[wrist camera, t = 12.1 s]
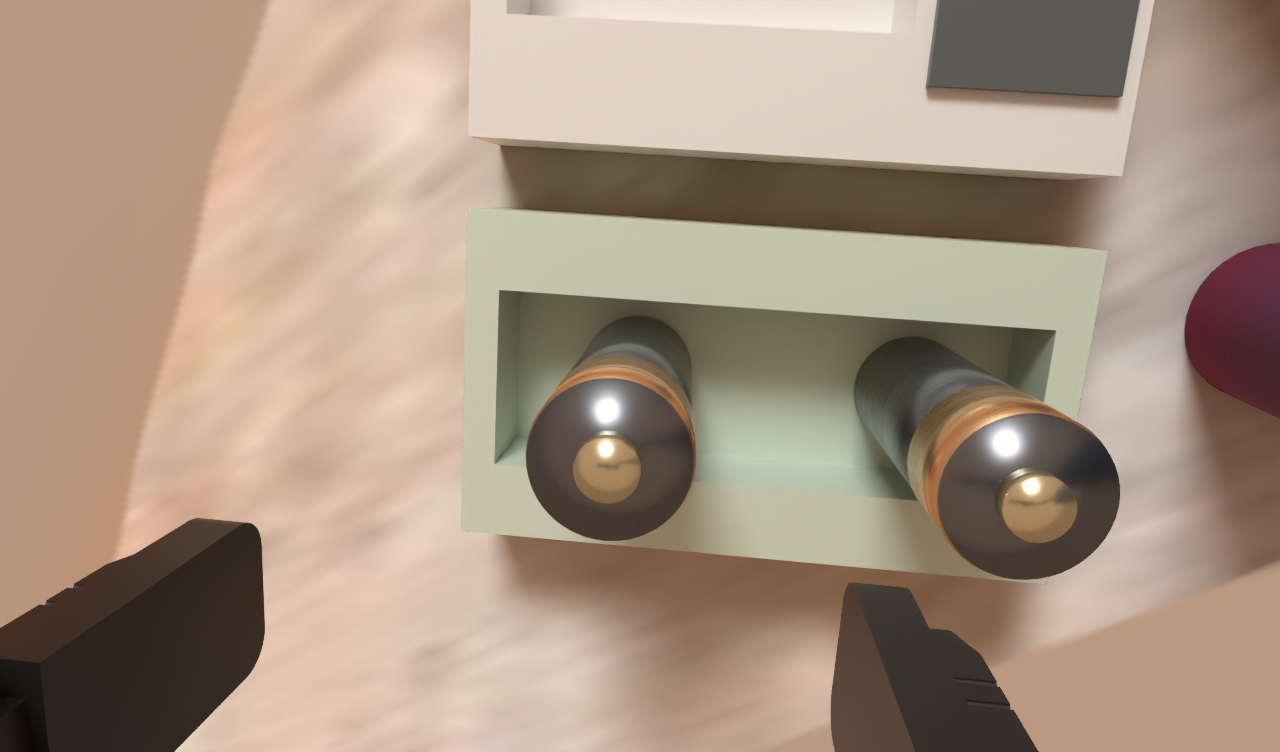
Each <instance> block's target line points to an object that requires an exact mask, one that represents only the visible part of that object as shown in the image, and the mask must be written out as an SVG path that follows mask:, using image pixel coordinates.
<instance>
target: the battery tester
mask: <svg viewBox="0 0 1280 752" xmlns="http://www.w3.org/2000/svg"><path fill="white" fill-rule="evenodd" d="M1153 6H1154V0H471V16H470V72H469V128H468V136H469V137H473V138H476V139H480V140H483V141H487V142H490V143H494V144H497V145H506V146H522V147H538V148H555V149H571V150H587V151H603V152H619V153H635V154H652V155H668V156H684V157H700V158H716V159H732V160H749V161H765V162H781V163H797V164H813V165H829V166H846V167H862V168H878V169H894V170H910V171H926V172H943V173H959V174H975V175H991V176H1007V177H1023V178H1040V179H1056V180H1072V179H1088V178H1103V177H1119V176H1122V173H1123V168H1124V163H1125V157H1126V152H1127V146H1128V141H1129V136H1130V130H1131V125H1132V119H1133V114H1134V109H1135V103H1136V98H1137V92H1138V87H1139V82H1140V76H1141V71H1142V65H1143V60H1144V54H1145V49H1146V44H1147V38H1148V33H1149V27H1150V22H1151V17H1152V11H1153Z"/></svg>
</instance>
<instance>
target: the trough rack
mask: <svg viewBox="0 0 1280 752" xmlns="http://www.w3.org/2000/svg"><path fill="white" fill-rule="evenodd" d="M1107 254H1108V251H1105V250H1097V249H1088V248H1080V247H1071V246H1063V245H1054V244H1040V243H1025V242H1010V241H995V240H980V239H965V238H950V237H935V236H920V235H905V234H890V233H875V232H860V231H845V230H830V229H815V228H800V227H785V226H770V225H755V224H740V223H725V222H710V221H695V220H680V219H665V218H650V217H635V216H620V215H605V214H590V213H575V212H560V211H545V210H530V209H515V208H500V207H492V208H467V240H466V296H465V352H464V408H463V463H462V519H461V531H466V532H477V533H488V534H499V535H510V536H521V537H532V538H543V539H554V540H565V541H576V542H586V543H597V544H608V545H619V546H630V547H641V548H652V549H663V550H674V551H685V552H696V553H707V554H718V555H729V556H740V557H751V558H762V559H773V560H784V561H794V562H805V563H816V564H827V565H838V566H849V567H860V568H871V569H882V570H893V571H904V572H915V573H926V574H937V575H948V576H959V577H970V578H981V579H991V580H1002V581H1013V582H1024V583H1035V584H1047V579H1048V577H1045V578H1040V579H1031V580H1015V579H1009V578H1003V577H999V576H996V575H992V574H990V573H988V572H985V571H983V570H981V569H979V568H977V567H975V566H974V565H972V564H970V563H969V562H967V561H966V560H965V559H964V558H962V557H961V556H960V555H959V554H958V553H957V552H956V551H955V550H954V549H953V548H952V547H951V545H950V544H949V542H948V541H947V540H946V538H945V537H944V536H943V534H942V533H941V531H940V530H939V529H938V527H937V526H936V525H935V523H934V522H933V520H932V519H931V518H930V516H929V515H928V513H927V512H926V511H925V509H924V508H923V507H922V505H921V504H920V502H919V501H918V500H917V498H916V496H915V494H914V492H913V490H912V488H911V487H910V485H909V484H908V482H907V481H906V480H905V478H904V477H903V476H902V474H901V473H900V472H899V470H898V469H897V467H896V466H895V465H894V463H893V462H892V461H891V459H890V458H889V457H888V455H887V454H886V452H885V451H884V450H883V448H882V447H881V446H880V444H879V443H878V442H877V440H876V439H875V437H874V436H873V435H872V433H871V432H870V431H869V429H868V428H867V426H866V425H865V424H864V422H863V421H862V420H861V418H860V416H859V414H858V412H857V409H856V406H855V402H854V384H855V379H856V376H857V373H858V371H859V369H860V367H861V365H862V364H863V362H864V361H865V359H866V358H867V357H868V356H869V355H870V354H871V353H872V352H873V351H874V350H875V349H877V348H878V347H880V346H881V345H883V344H885V343H887V342H889V341H892V340H894V339H898V338H902V337H922V338H927V339H931V340H933V341H936V342H938V343H940V344H941V345H943V346H945V347H946V348H948V349H950V350H951V351H953V352H955V353H957V354H958V355H960V356H962V357H963V358H965V359H967V360H968V361H970V362H972V363H973V364H975V365H977V366H978V367H980V368H982V369H984V370H985V371H987V372H989V373H990V374H992V375H994V376H995V377H997V378H999V379H1000V380H1002V381H1004V382H1005V383H1007V384H1009V385H1010V386H1012V387H1014V388H1016V389H1018V390H1021V391H1023V392H1026V393H1028V394H1030V395H1032V396H1033V397H1035V398H1037V399H1038V400H1040V401H1042V402H1044V403H1045V404H1047V405H1049V406H1050V407H1052V408H1054V409H1056V410H1057V411H1059V412H1061V413H1062V414H1064V415H1066V416H1068V417H1069V418H1071V419H1073V420H1074V421H1076V422H1077V416H1078V411H1079V406H1080V400H1081V395H1082V389H1083V384H1084V379H1085V373H1086V368H1087V362H1088V357H1089V352H1090V346H1091V341H1092V335H1093V330H1094V325H1095V319H1096V314H1097V308H1098V303H1099V298H1100V292H1101V287H1102V281H1103V276H1104V271H1105V265H1106V260H1107ZM630 316H645V317H650V318H654V319H657V320H659V321H662V322H663V323H665V324H667V325H668V326H670V327H671V328H672V329H674V330H675V331H676V332H677V333H678V334H679V336H680V337H681V338H682V340H683V341H684V343H685V345H686V347H687V349H688V351H689V355H690V358H691V365H692V406H693V415H694V422H695V442H696V468H695V475H694V479H693V483H692V486H691V488H690V491H689V493H688V495H687V497H686V499H685V500H684V502H683V504H682V505H681V506H680V508H679V509H678V510H677V511H676V513H675V514H674V515H673V516H672V517H671V518H670V519H669V520H667V521H666V522H665V523H664V524H663V525H661V526H660V527H658V528H657V529H655V530H653V531H651V532H649V533H648V534H645V535H642V536H640V537H637V538H633V539H629V540H622V541H602V540H595V539H591V538H587V537H584V536H581V535H579V534H576V533H574V532H572V531H570V530H569V529H567V528H565V527H564V526H562V525H561V524H559V523H558V522H557V521H555V520H554V519H553V518H552V517H551V516H550V515H549V514H548V513H547V512H546V510H545V509H544V508H543V507H542V506H541V504H540V502H539V501H538V499H537V498H536V496H535V494H534V492H533V490H532V487H531V484H530V481H529V478H528V473H527V467H526V443H527V439H528V434H529V431H530V428H531V426H532V423H533V421H534V419H535V418H536V416H537V414H538V412H539V411H540V410H541V408H542V407H543V405H544V404H545V403H546V401H547V400H548V398H549V397H550V396H551V394H552V393H553V392H554V390H555V389H556V387H557V386H558V385H559V383H560V382H561V381H562V380H563V379H564V378H565V377H566V376H567V375H568V374H569V373H570V371H571V370H572V368H573V367H574V365H575V364H576V363H577V361H578V360H579V358H580V357H581V356H582V354H583V353H584V351H585V350H586V348H587V347H588V346H589V344H590V343H591V341H592V340H593V339H594V337H595V336H596V335H597V334H598V333H599V331H600V330H601V329H603V328H604V327H605V326H607V325H608V324H610V323H612V322H613V321H616V320H618V319H621V318H624V317H630Z"/></svg>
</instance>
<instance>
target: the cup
mask: <svg viewBox="0 0 1280 752" xmlns="http://www.w3.org/2000/svg"><path fill="white" fill-rule="evenodd" d="M1185 334H1186V345H1187V349H1188V352H1189V355H1190V358H1191V360H1192V362H1193V364H1194V366H1195V367H1196V369H1197V371H1198V372H1199V373H1200V374H1201V375H1202V376H1203V377H1204V378H1205V380H1206V381H1207V382H1209V383H1210V384H1211V385H1213V386H1214V387H1216V388H1217V389H1219V390H1220V391H1223V392H1225V393H1227V394H1229V395H1231V396H1233V397H1235V398H1237V399H1240V400H1242V401H1244V402H1246V403H1248V404H1250V405H1252V406H1254V407H1256V408H1259V409H1261V410H1263V411H1265V412H1267V413H1269V414H1271V415H1273V416H1276V417H1278V418H1280V244H1267V245H1262V246H1257V247H1254V248H1251V249H1248V250H1246V251H1243V252H1240V253H1238V254H1237V255H1235V256H1233V257H1232V258H1230V259H1228V260H1226V261H1225V262H1223V263H1222V264H1221V265H1220V266H1219V267H1218V268H1216V269H1215V270H1214V271H1213V272H1212V273H1211V274H1210V275H1209V276H1208V277H1207V278H1206V280H1205V281H1204V282H1203V283H1202V284H1201V286H1200V287H1199V289H1198V291H1197V293H1196V294H1195V296H1194V298H1193V300H1192V302H1191V305H1190V308H1189V311H1188V314H1187V320H1186V328H1185Z"/></svg>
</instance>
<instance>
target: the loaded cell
mask: <svg viewBox="0 0 1280 752" xmlns="http://www.w3.org/2000/svg"><path fill="white" fill-rule="evenodd" d="M854 402H855V406H856V409H857V412H858V414H859V416H860V418H861V420H862V421H863V422H864V424H865V425H866V426H867V428H868V429H869V431H870V432H871V433H872V435H873V436H874V437H875V439H876V440H877V442H878V443H879V444H880V446H881V447H882V448H883V450H884V451H885V452H886V454H887V455H888V457H889V458H890V459H891V461H892V462H893V463H894V465H895V466H896V467H897V469H898V470H899V472H900V473H901V474H902V476H903V477H904V478H905V480H906V481H907V482H908V484H909V485H910V487H911V488H912V490H913V492H914V494H915V496H916V498H917V500H918V501H919V502H920V504H921V505H922V507H923V508H924V509H925V511H926V512H927V513H928V515H929V516H930V518H931V519H932V520H933V522H934V523H935V525H936V526H937V527H938V529H939V530H940V531H941V533H942V534H943V536H944V537H945V538H946V540H947V541H948V542H949V544H950V545H951V547H952V548H953V549H954V550H955V551H956V552H957V553H958V554H959V555H960V556H961V557H962V558H964V559H965V560H966V561H967V562H969V563H970V564H972V565H974V566H975V567H977V568H979V569H981V570H983V571H985V572H988V573H990V574H992V575H996V576H999V577H1003V578H1009V579H1015V580H1031V579H1040V578H1045V577H1050V576H1053V575H1056V574H1059V573H1062V572H1064V571H1066V570H1068V569H1070V568H1072V567H1074V566H1075V565H1077V564H1079V563H1080V562H1082V561H1083V560H1084V559H1086V558H1087V557H1088V556H1090V555H1091V554H1092V553H1093V552H1094V551H1095V550H1096V549H1097V548H1098V547H1099V545H1100V544H1101V543H1102V542H1103V540H1104V539H1105V538H1106V536H1107V534H1108V533H1109V531H1110V529H1111V527H1112V525H1113V523H1114V520H1115V518H1116V515H1117V511H1118V507H1119V500H1120V484H1119V478H1118V473H1117V470H1116V467H1115V464H1114V462H1113V460H1112V458H1111V456H1110V454H1109V453H1108V451H1107V450H1106V448H1105V447H1104V445H1103V444H1102V442H1101V441H1100V440H1099V439H1098V438H1097V437H1096V436H1095V435H1094V434H1093V433H1092V432H1091V431H1090V430H1088V429H1087V428H1086V427H1084V426H1083V425H1081V424H1079V423H1078V422H1076V421H1074V420H1073V419H1071V418H1069V417H1068V416H1066V415H1064V414H1062V413H1061V412H1059V411H1057V410H1056V409H1054V408H1052V407H1050V406H1049V405H1047V404H1045V403H1044V402H1042V401H1040V400H1038V399H1037V398H1035V397H1033V396H1032V395H1030V394H1028V393H1026V392H1023V391H1021V390H1018V389H1016V388H1014V387H1012V386H1010V385H1009V384H1007V383H1005V382H1004V381H1002V380H1000V379H999V378H997V377H995V376H994V375H992V374H990V373H989V372H987V371H985V370H984V369H982V368H980V367H978V366H977V365H975V364H973V363H972V362H970V361H968V360H967V359H965V358H963V357H962V356H960V355H958V354H957V353H955V352H953V351H951V350H950V349H948V348H946V347H945V346H943V345H941V344H940V343H938V342H936V341H933V340H931V339H927V338H922V337H902V338H898V339H894V340H892V341H889V342H887V343H885V344H883V345H881V346H880V347H878V348H877V349H875V350H874V351H873V352H872V353H871V354H870V355H869V356H868V357H867V358H866V359H865V361H864V362H863V364H862V365H861V367H860V369H859V371H858V373H857V376H856V379H855V384H854Z"/></svg>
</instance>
